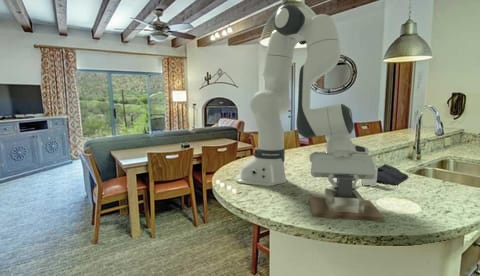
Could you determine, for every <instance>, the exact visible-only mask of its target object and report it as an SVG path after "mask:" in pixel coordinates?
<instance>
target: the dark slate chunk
mask: <svg viewBox="0 0 480 276" xmlns="http://www.w3.org/2000/svg"><path fill="white" fill-rule="evenodd" d="M377 169H378V170H377V181H379V182H378V183H381V182H382V184H385V183H386V184H385V185H388V184H390V185H389V186H396V185H397V186H399V185H400V184H401V183H404V181H405V180H406V179H407V178H409V175H408V174H406V173H405V172H402V171H400V169H398V168H397V167H394V166H391V165H389V164H386V163H385V164H383V165H381V166H380V167H377Z"/></svg>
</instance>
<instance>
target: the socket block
mask: <svg viewBox="0 0 480 276" xmlns="http://www.w3.org/2000/svg"><path fill="white" fill-rule="evenodd" d="M308 199H309V205H310V209H311V210H310V211H311V213H312V217H315V218H316V217H319V218H328V219H330V218H333V219H346V220H348V219H349V220H363V221H364V220H365V221H374V222H375V221H376V222H384V221H385V219H384V218H385V217H384V216H383V214H382V213H381V212H380V211H379V209H378V208H377V207H376V206H375V204H374V203H373V202H372V201H371V200H369V199H364V198H363V196H362V195H361V194H360V193H359V192H358V190H357V189H356V190H352V198H339V197H336V189H333V188H327V187H326V188H324V197H321V196H320V197H319V196H309V198H308Z"/></svg>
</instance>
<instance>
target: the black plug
mask: <svg viewBox="0 0 480 276" xmlns="http://www.w3.org/2000/svg"><path fill="white" fill-rule="evenodd" d="M336 182H338V189H336V197H339V198H352V183H354V181H353V179H352V178H351V177H350V176H339V175H337V178H336Z"/></svg>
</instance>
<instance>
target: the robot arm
mask: <svg viewBox="0 0 480 276" xmlns="http://www.w3.org/2000/svg"><path fill="white" fill-rule="evenodd" d="M273 27H274V29H275V30H273V31H272V32H271V34H270V36H269V38H268V43H267V46H266V47H267V48H266V51H265V59H264V66H263V70H262V71H263V72H262V75H263V76H262V77H263V78H264V84H265V90H260V91H258V92H255V94H253V96H252V97H251V98H250V102H249V107H250V110H251V112H252V113H253V114H254V117H255V121H256V122H255V123H256V126H257V134H258V135H257V136H258V137H257V139H258V141H257V142H258V145H257V146H258V147H254V148H253V156H252V157H251V158H250V159H249V160H247V161H245V163H243V165H241V170H240V173H239V174H237V175H236V176H235V181H236V183H238V184H247V185H253V186H256V185H257V186H264V187H273V186H275V185H280V184H284V183H286V182H287V181H288V179H287V175H286V170H285V160H286V159H285V158H286V151H285V150H286V149H285V147H284V146H285V131H284V130H285V129H284V127H283V125H282V121H281V116H283V115H284V114H286V113H287V112H289V110H290V108H291V105H292V102H291V98H290V76H291V69H292V64H293V57H294V52H295V48H296V45H298V44H300V45H302V46H303V45H306V51H307V52H306V53H307V54H306V55H307V56H306V58H305V59H306V60H305V62H304V64H302V65H301V67H300V69H299V78H298V91H297V92H298V97H297V114H296V120H295V121H296V123H295V125H296V131H297V133H298V134H299V135H300V136H301V137H303V138H305V139H307V140H308V139H313V138H317V137H319V136H324V137H325V140H326V144H325V148H326V149H325V150H326V151H319V152H318V151H314V152H312V153H310V155H309V157H308V159H309V161H310V164H311V166H310V175H311V176H312V177H313V178H327V180H328V182H329V183H330V184H331V185H332V188H331V189H338V182H337V181H335V180H334V179H337V175H339V176H350V177H351V178H352V179H353V182H352V190H357V182H358V181H359V180H361V179H370V180H371V179H373V178H374V177H375V175H376V165H375V161H374V159H373V158H372V157H371V155H369V153H370V149H369V148H368V147H365V146H362V145H358V144H355V143H353V141H352V139H351V137H352V132H353V130H354V128H355V127H354V126H355V125H354V121H353V113H352V110H351V108H349V106H346V105H345V104H343V103H339V104H331V105H327V106H323V107H317V108H311V93H312V92H311V90H312V85H314V83H315V82H317V80H318V79H320V78H321V77H323V76H325V75H327V74H328V73H330V72H331V71H332V70H333V69H334V68H335V67H336V66H337V65H338V63H339V62H340V59H341V55H342V54H341V43H340V38H339V34H338V31H337V27H336V24H335V22H334V20H333V17H332V16H331V15H329V14H325V13H320V14H319V13H315V12H313V11H312V10H310V9H308V8H304V7H301V6H300V7H299V6H298V5H295V4H289V3H287V4H283V5H281V6H280V7H279V8H278V9H277V10H276V12H275V14H274V18H273Z"/></svg>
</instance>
